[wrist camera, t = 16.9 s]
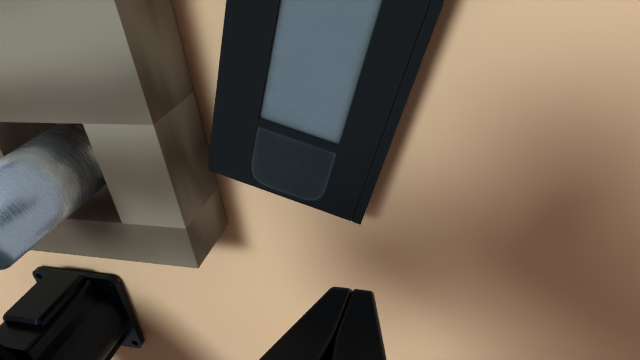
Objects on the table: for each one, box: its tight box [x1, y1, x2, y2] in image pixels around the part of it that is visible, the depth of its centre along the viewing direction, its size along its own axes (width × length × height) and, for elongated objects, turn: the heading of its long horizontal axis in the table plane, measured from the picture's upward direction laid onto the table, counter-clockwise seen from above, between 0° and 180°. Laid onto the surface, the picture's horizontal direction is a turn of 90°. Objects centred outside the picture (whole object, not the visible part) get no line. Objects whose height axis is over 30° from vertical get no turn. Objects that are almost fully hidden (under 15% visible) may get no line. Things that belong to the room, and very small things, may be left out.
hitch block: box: [0, 0, 228, 268], centre depth 21 cm, size 22×12×4 cm, turn 7°
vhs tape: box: [208, 0, 445, 224], centre depth 19 cm, size 8×14×2 cm, turn 167°
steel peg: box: [0, 123, 106, 270], centre depth 22 cm, size 4×4×8 cm
